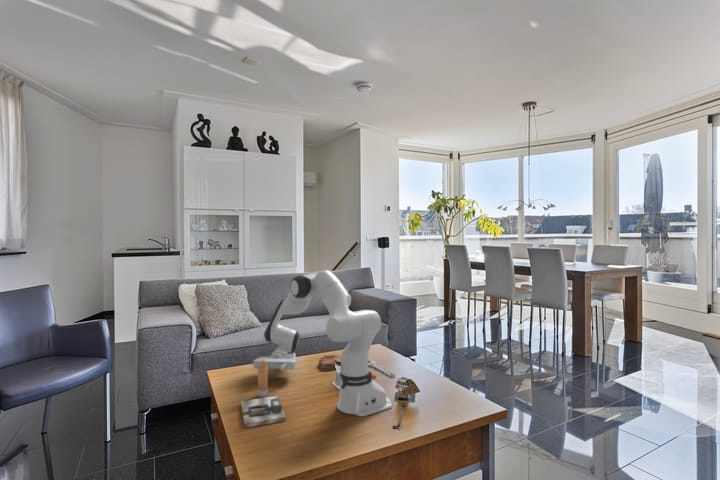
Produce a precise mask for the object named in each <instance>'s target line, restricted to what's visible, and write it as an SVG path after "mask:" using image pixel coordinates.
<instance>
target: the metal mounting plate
mask: <svg viewBox="0 0 720 480" xmlns="http://www.w3.org/2000/svg"><path fill="white" fill-rule="evenodd" d="M277 398H279V396H278V395H275V396H274V395H273V396H268V397H267V396H266V397H259V398H254V399H247V400H241V401H240V406H241V413H242V420H243V426H244V428H245V429H246V428H251V427H257V426H263V425H268V424H275V423H280V422H286V421H287V420H286V419H287V418H286V417H287V416H286V414H285V412H284V408H283V406H282V405H281V412H276V413H273V411H272V408H271V399H277Z"/></svg>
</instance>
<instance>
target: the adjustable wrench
mask: <svg viewBox="0 0 720 480" xmlns="http://www.w3.org/2000/svg"><path fill="white" fill-rule="evenodd" d="M368 368H373V369H375V370H377V371H378V372H380V373H382V374H384V375H386V376H387V377H389V378H391V379H392V378H394V379H395V378H396V374H395V373H392V372H391V371H389V370H387V369H386V368H383V367H381V366H380V365H377V364H376V361H374V360H372V359H368Z"/></svg>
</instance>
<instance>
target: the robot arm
mask: <svg viewBox="0 0 720 480" xmlns="http://www.w3.org/2000/svg"><path fill="white" fill-rule="evenodd" d="M289 287H290V289H289V290H288V291H289V292H288V295H287V297H286V298H284V299H282V300H281V301H280V302H279V303H278V305H277V306H276V309H275V310H274V312H273V314H272V316H271V319H270V321H269V323H268V325H267V326H266V328H265V329H264V333H263V336H264V339H265V341H266V342H268V343H271V344H275V345H278V347H277V348H276V349H275V350H273V351H272V353H271V354H270V355H269V356H258V357H257V358H255V359H254V360H253V363H252V364H253V368H254V369H258V364H259V362H260V361H262V360H264V361H266V362H267V370H268V369H271V370H272V369H275V370H278V371H283V370H295V369H296V367H297V366H296V365H297V355H296V353H295V352H296V350H297V349H298V347H299V345H300V341H301V337H300V333H299V332H298V331H297V330H295V329H293V328H290V327H287V326H284V325H282V324H280V323H279V322H280V320H281V318H282V316H283V315H298V314H302V313H304V312H305V311H306V310H307V309H308V307H309V305H310V301H311V299H312V298H319V297H320V299H321V300H322V302H323V303H324V305H325V307H326V308H327V311H328V313H329V319H328V320H327V322H326V326H325V331H326V334H327V337H328V338H329V340H331V341H332V342H335V343H336V342H337V343H344V342H345V343H346V342H348V344H347V345H346V346H345V348H344V349H343V350H342V351H341V354H340V357H341V369H340V373H339V386H340V387H339V388H340V389H339V397H338V402H337V405H336V407H337V409H338V410H339V411H340V412H342V413H345V414H348V415H354V416H357V417H366V416H369V415H371V414H376V413H379V412H383V411H385V410H386V411H387V410H389V409H391V408H392V407H393V403H392V401H391V400H390V398H389V397H388V396H387V393H386V391H385V389H384V387H382V385H380V384H379V383H377V381H374V380H377V375H376V374H375V373H374V372H373V373H372V372H371V371H370V370H369V367H368V360H369V353H370V348H371V345H372V343H373V340H374V338H375V337H376V335H377V333H378V332H379V331H380V330H381V327H382V319H381V316H380V314H379V313H378V312H377V311H376V310H373V309H360V310H356V311H352V310H350V308H349V307H350V305H351V303H352V296H351V294H350V292H349V291H347V288H346V287H345V286H344V285H343V283H342V282H341V280H340V279H339V278H338V277H337V276H336V275H335V274H334V273H333V272H332V271H331V270H328V269H323V270H320V271H318V272H317V273H314V272H313V273H307V274H300V275H296V276H294V277H293V278H292V280H291V282H290V286H289Z"/></svg>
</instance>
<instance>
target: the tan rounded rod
mask: <svg viewBox="0 0 720 480" xmlns="http://www.w3.org/2000/svg"><path fill="white" fill-rule="evenodd" d="M257 390H258V397H259V398H266V397H267V396H268V369H267V362H266V361H264V360H262V361H260V362H259V364H258V368H257Z"/></svg>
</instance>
